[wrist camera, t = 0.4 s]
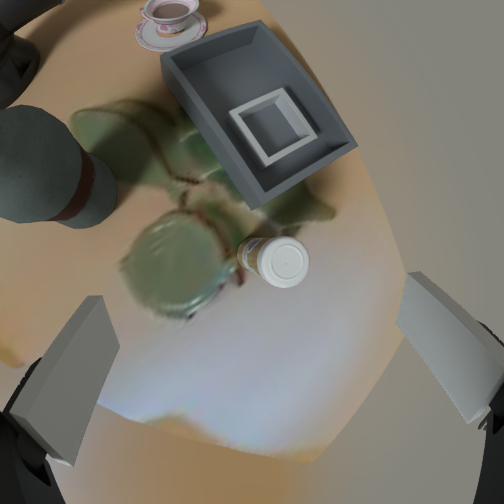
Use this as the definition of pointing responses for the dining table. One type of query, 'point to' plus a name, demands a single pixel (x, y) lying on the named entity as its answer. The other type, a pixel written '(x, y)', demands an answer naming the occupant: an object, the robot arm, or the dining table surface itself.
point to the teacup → (169, 24)
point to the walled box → (256, 109)
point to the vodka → (50, 172)
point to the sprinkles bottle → (275, 259)
